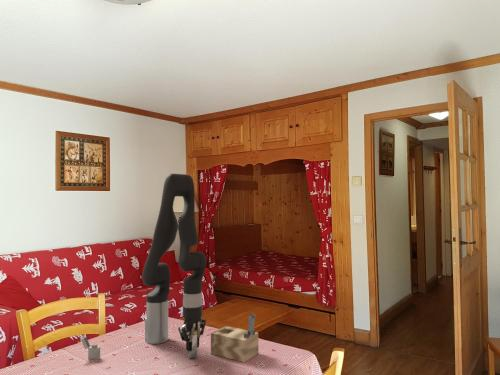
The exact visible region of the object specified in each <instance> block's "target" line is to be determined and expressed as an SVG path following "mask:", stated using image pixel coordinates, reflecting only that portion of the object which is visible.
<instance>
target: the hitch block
mask: <svg viewBox="0 0 500 375" xmlns="http://www.w3.org/2000/svg"><path fill="white" fill-rule="evenodd" d="M259 353H260V352H259V332H256V330H255V329H254V332H253V335H251V336H249V334H248V329H243V328H239V327H232V326H227V325H225V326H223V327H221V328H219V329H217V330H214V331H212V332H210V354H212V355H215V356H219V357H223V358H227V359H230V360H234V361H238V362H241V363H246V362H248V361H249V360H251V359H252V358H253V357H255V356H257V355H258V354H259Z"/></svg>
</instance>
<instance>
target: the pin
mask: <svg viewBox="0 0 500 375" xmlns="http://www.w3.org/2000/svg"><path fill="white" fill-rule="evenodd" d="M188 332H189V331H188ZM189 333H191V332H189ZM188 338H189V335H188ZM187 352H188V355H187V356H188V358H189V359H195V358H197V357H198V348H197V330H196V331H194V335H193V336H192V351H191V352H189V351H187Z"/></svg>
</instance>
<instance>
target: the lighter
mask: <svg viewBox="0 0 500 375" xmlns="http://www.w3.org/2000/svg"><path fill="white" fill-rule="evenodd" d="M80 341H81V343H82V346H83V347H84V349H85V350H88V351H87V352H88V354H87V358H88V360H99V359H101V346H98V344H97V343H92V344H90V342H89V340H88V338H87V336H84V337H82V338H81V339H80Z"/></svg>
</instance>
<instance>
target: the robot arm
mask: <svg viewBox="0 0 500 375" xmlns="http://www.w3.org/2000/svg"><path fill="white" fill-rule="evenodd" d="M161 195H162V196H161V201H160V202H161V203H160V208H159V213H158V216H157V220H156V223H155V227H154V232H153V236H152V241H151V244H150V248H149V251H148V254H147V258H146V260H145V263H144V266H143V269H142V274H141V275H142V276H141V277H142V283H143V284H144V285H145V286H146V287H153V286H155V288H154V289H153V290H151V291H150V292H148V293H147V294H146V299H145V300H146V317H145V318H144V341H146V343H147V344H150V345H158V344H164V343H166V342H167V341H169V295H170V287H171V285H170V284H171V269H170V267H169V265H168V263H166V262H161V259H162V258H163V256H164V255H165V254H166V252H168V250H169V249H170V248H171V247H172V245H173V244H174V243H175V240H176V237H177V234H178V236H179V243H180V244H179V255H178V266H179V268H180V270H182V271H183V272H192V274H191V275H189V276H187V277H185V278H184V279H183V295H182V296H183V297H182V317H183V319H184V321H183V325H182V326H178V332H179V335H180V336H179V337H180V339H181V341H182V342H185V346H186V347H185V350H186V351H187V352H188V351H189V352H191V351H192V336H193V335H194V331H196V330H197V349H199V347H200V338H201V336H203V335H204V332H205V328H206V323H207V319H206V318H202V317H203V278H204V274H205V270H206V267H207V257H206V255H205V253H203V252H202V251H192V252H190V250H191V248H192V247H195V246H197V245H198V244H199V237H198V231H197V225H196V216H195V214H196V212H195V210H196V209H195V208H196V207H195V206H196V205H195V202H196V201H195V197H196V196H195V183H194V179H193V177H192V176H191V175H190V174H186V173H185V174H183V173H169V174H168V175H167V176H166V177H165V179H164V183H163V188H162V194H161ZM176 197H181V198H182V199H183V209H182V212H181V213H182V214H181V216H180V218H179V221H178V220H177V217H176V214H175V211H174V201H175V198H176ZM188 331H189V332H191V333H189V332H188ZM188 335H189V338H188Z"/></svg>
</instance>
